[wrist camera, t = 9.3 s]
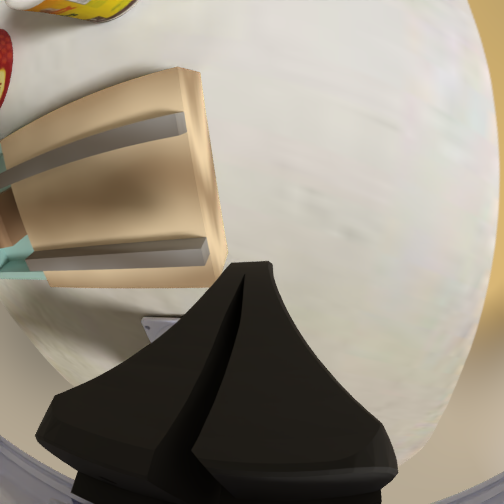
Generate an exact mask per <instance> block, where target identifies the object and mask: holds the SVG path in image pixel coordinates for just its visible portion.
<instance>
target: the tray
mask: <svg viewBox="0 0 504 504" xmlns="http://www.w3.org/2000/svg"><path fill="white" fill-rule="evenodd" d="M6 170H7V169H6V165H5V161H4V157H3V152H2V147H1V143H0V173H2V172H4V171H6ZM9 187H11V185H8V186H6V187H4V188H1V189H0V193H1V192H2V191H4V190H6V189H8V188H9ZM33 252H34V250H33V247H32V245H31V243H30V240H29V238H28V235H26V236H25V237H23V238H22V239H21V240H20V241H18V242H17V243H16V244H15V245H14V246H11V247H6V248H1V249H0V279H36V280H47V279H46V277H45V275H44V272H43V271H30V270H29V268H28V266H27V264H26V261H25V259H26V258H27V257H28V256H29V255H31V254H32V253H33Z"/></svg>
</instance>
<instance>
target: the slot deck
mask: <svg viewBox="0 0 504 504" xmlns="http://www.w3.org/2000/svg"><path fill="white" fill-rule="evenodd" d="M0 142H1V147H2V152H3V157H4V161H5V165H6V169H7V170H6V171H4V172H2V173H0V189H1V188H4V187H6V186H8V185H11V188H12V191H13V194H14V198H15V201H16V204H17V207H18V210H19V213H20V216H21V219H22V222H23V224H24V227H25V230H26V232H27V235H28V238H29V240H30V243H31V245H32V247H33V250H34V252H33V253H32V254H31V255H29V256H28V257H27V258H26V259H25V261H26V264H27V266H28V268H29V270H30V271H43V272H44V275H45V277H46V279H47V281H48V283H49V285H50V287H74V288H203V287H211V286H212V285H213V283H214V282H215V281H216V280H217V279H218V277H219V276H220V275H221V273H222V270H223V267H224V264H225V260H226V257H227V254H228V248H227V243H226V237H225V231H224V225H223V219H222V213H221V207H220V201H219V195H218V189H217V183H216V177H215V170H214V164H213V157H212V151H211V144H210V138H209V131H208V124H207V117H206V111H205V104H204V96H203V89H202V82H201V74H200V72H196V71H193V70H189V69H185V68H181V67H174V68H170V69H166V70H163V71H159V72H155V73H152V74H148V75H145V76H141V77H138V78H135V79H132V80H129V81H126V82H123V83H120V84H117V85H114V86H111V87H108V88H106V89H103V90H100V91H98V92H95V93H93V94H90V95H88V96H85V97H83V98H81V99H78V100H76V101H74V102H71V103H69V104H67V105H65V106H63V107H61V108H58V109H56V110H54V111H52V112H50V113H48V114H46V115H44V116H42V117H40V118H39V119H37V120H35V121H33V122H31V123H29V124H28V125H26V126H24V127H22V128H20V129H19V130H17V131H15V132H14V133H12V134H10V135H9V136H7V137H6V138H4V139H2V140H1V141H0Z"/></svg>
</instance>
